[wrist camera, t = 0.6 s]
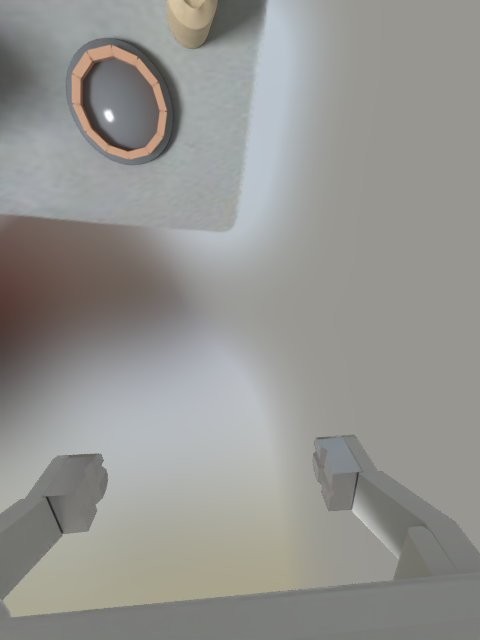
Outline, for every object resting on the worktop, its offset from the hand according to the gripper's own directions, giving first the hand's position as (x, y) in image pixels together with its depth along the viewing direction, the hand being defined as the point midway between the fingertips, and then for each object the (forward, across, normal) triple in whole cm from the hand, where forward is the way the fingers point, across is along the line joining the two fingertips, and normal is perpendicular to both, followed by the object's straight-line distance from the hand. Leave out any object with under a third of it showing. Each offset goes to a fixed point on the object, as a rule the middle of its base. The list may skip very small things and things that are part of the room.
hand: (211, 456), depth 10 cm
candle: (+40, +2, -33) cm, 52 cm away
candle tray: (+40, +13, -24) cm, 49 cm away
